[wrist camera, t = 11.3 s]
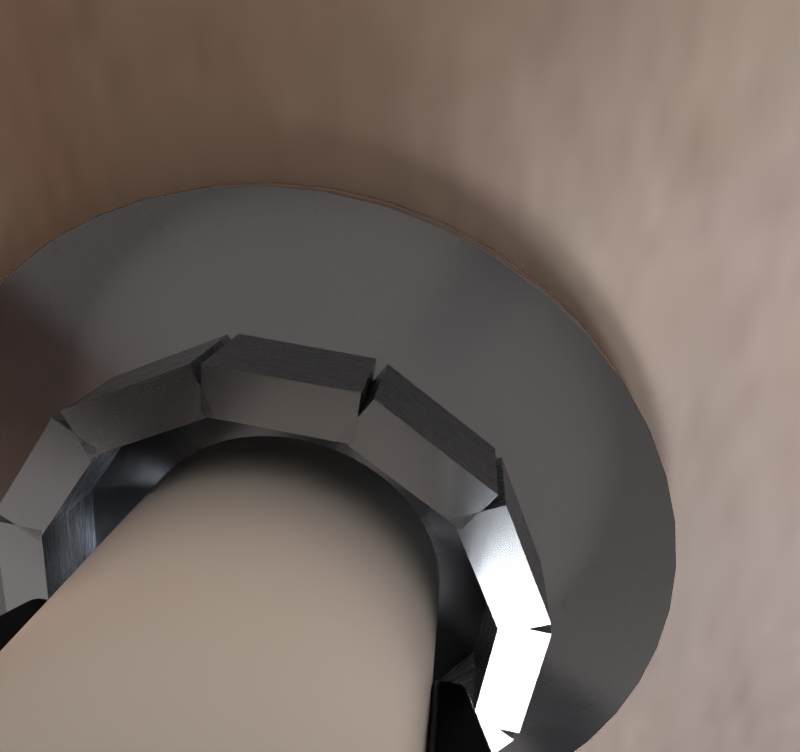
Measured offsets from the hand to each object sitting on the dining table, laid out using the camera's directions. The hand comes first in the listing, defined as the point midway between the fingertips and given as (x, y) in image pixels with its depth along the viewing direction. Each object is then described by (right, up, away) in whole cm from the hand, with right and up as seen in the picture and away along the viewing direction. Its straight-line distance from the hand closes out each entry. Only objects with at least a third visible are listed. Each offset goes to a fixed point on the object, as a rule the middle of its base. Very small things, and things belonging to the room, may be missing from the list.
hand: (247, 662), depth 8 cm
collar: (0, +1, +2) cm, 2 cm away
